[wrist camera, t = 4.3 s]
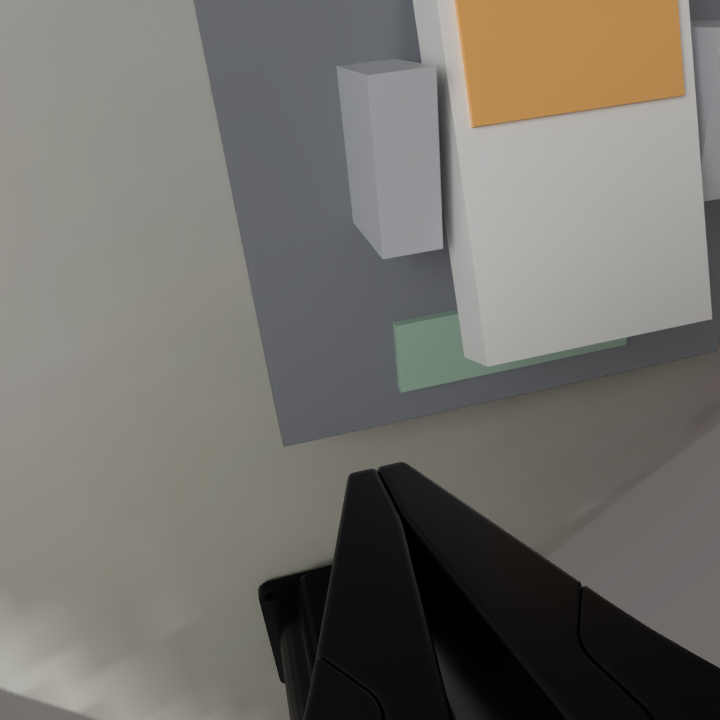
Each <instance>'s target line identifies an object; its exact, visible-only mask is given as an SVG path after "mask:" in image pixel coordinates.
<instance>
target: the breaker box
mask: <svg viewBox="0 0 720 720" xmlns="http://www.w3.org/2000/svg"><path fill="white" fill-rule="evenodd" d="M194 4H195V9H196V14H197V19H198V24H199V29H200V34H201V40H202V45H203V50H204V55H205V60H206V65H207V70H208V75H209V80H210V85H211V90H212V95H213V100H214V105H215V110H216V115H217V120H218V125H219V130H220V135H221V140H222V145H223V150H224V155H225V160H226V165H227V170H228V175H229V180H230V185H231V190H232V195H233V200H234V205H235V210H236V215H237V220H238V225H239V230H240V235H241V240H242V245H243V250H244V255H245V260H246V265H247V270H248V275H249V280H250V285H251V290H252V295H253V300H254V305H255V310H256V315H257V320H258V325H259V330H260V335H261V340H262V345H263V350H264V355H265V360H266V365H267V370H268V375H269V380H270V385H271V390H272V395H273V400H274V404H275V409H276V414H277V418H278V423H279V427H280V432H281V437H282V441H283V446H284V447H285V446H290V445H294V444H299V443H304V442H308V441H313V440H317V439H322V438H326V437H331V436H335V435H340V434H344V433H349V432H353V431H358V430H362V429H367V428H371V427H376V426H380V425H385V424H389V423H394V422H398V421H403V420H407V419H412V418H416V417H421V416H426V415H430V414H435V413H439V412H444V411H448V410H453V409H457V408H462V407H466V406H471V405H475V404H480V403H484V402H489V401H493V400H498V399H502V398H507V397H511V396H516V395H520V394H525V393H529V392H534V391H539V390H543V389H548V388H552V387H557V386H561V385H566V384H570V383H575V382H579V381H584V380H588V379H593V378H597V377H602V376H606V375H611V374H615V373H620V372H624V371H629V370H633V369H638V368H642V367H647V366H652V365H656V364H661V363H665V362H670V361H674V360H679V359H683V358H688V357H692V356H697V355H701V354H706V353H710V352H715V351H717V347H718V342H719V337H720V0H689V11H690V24H691V38H692V51H693V65H694V78H695V92H696V105H697V119H698V132H699V146H700V160H701V173H702V187H703V200H704V214H705V227H706V241H707V254H708V268H709V281H710V295H711V308H712V319H710V320H706V321H701V322H696V323H692V324H687V325H682V326H677V327H673V328H668V329H663V330H659V331H654V332H649V333H644V334H640V335H635V336H630V337H626V338H621V339H616V340H611V341H607V342H602V343H597V344H593V345H588V346H583V347H578V348H574V349H569V350H564V351H560V352H555V353H550V354H546V355H541V356H536V357H531V358H527V359H522V360H517V361H513V362H508V363H503V364H498V365H494V366H489V367H487V366H485V365H482V364H480V363H477V362H475V361H472V360H470V359H467V358H465V357H464V350H463V343H462V336H461V329H460V323H459V316H458V309H457V302H456V295H455V288H454V281H453V275H452V268H451V261H450V254H449V247H448V240H447V233H446V226H445V220H444V213H443V206H442V199H441V178H440V151H439V125H438V98H437V71H436V66H434V65H428V64H422V62H421V55H420V48H419V41H418V34H417V27H416V21H415V14H414V7H413V0H194Z"/></svg>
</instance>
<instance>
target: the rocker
mask: <svg viewBox="0 0 720 720" xmlns="http://www.w3.org/2000/svg"><path fill="white" fill-rule="evenodd" d="M413 7H414V14H415V21H416V27H417V34H418V41H419V48H420V55H421V62H422V64H428V65H434V66H436V71H437V98H438V125H439V151H440V178H441V199H442V206H443V213H444V220H445V226H446V233H447V240H448V247H449V254H450V261H451V268H452V275H453V281H454V288H455V295H456V302H457V309H458V316H459V323H460V329H461V336H462V343H463V350H464V357H465V358H467V359H470V360H472V361H475V362H477V363H480V364H482V365H485V366H487V367H489V366H494V365H498V364H503V363H508V362H513V361H517V360H522V359H527V358H531V357H536V356H541V355H546V354H550V353H555V352H560V351H564V350H569V349H574V348H578V347H583V346H588V345H593V344H597V343H602V342H607V341H611V340H616V339H621V338H626V337H630V336H635V335H640V334H644V333H649V332H654V331H659V330H663V329H668V328H673V327H677V326H682V325H687V324H692V323H696V322H701V321H706V320H710V319H712V308H711V295H710V281H709V268H708V254H707V241H706V227H705V214H704V200H703V187H702V173H701V160H700V146H699V132H698V119H697V105H696V92H695V78H694V65H693V51H692V38H691V24H690V11H689V0H413Z"/></svg>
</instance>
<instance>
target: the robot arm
mask: <svg viewBox="0 0 720 720" xmlns="http://www.w3.org/2000/svg"><path fill="white" fill-rule="evenodd" d="M581 588H582V589H581ZM271 592H273V593H271ZM268 593H271V594H268ZM258 595H259V601H260V605H261V609H262V613H263V617H264V620H265V624H266V628H267V632H268V636H269V640H270V643H271V647H272V651H273V655H274V659H275V662H276V666H277V670H278V674H279V678H280V681H281V682H282V683H284V684H285V686H286V693H287V700H288V707H289V715H290V720H720V668H718V667H717V666H715V665H713V664H711V663H709V662H708V661H706V660H704V659H702V658H700V657H699V656H697V655H695V654H693V653H691V652H690V651H688V650H686V649H685V648H683V647H681V646H680V645H678V644H676V643H675V642H673V641H671V640H669V639H668V638H666V637H664V636H663V635H661V634H659V633H657V632H656V631H654V630H652V629H651V628H649V627H647V626H646V625H644V624H642V623H641V622H640V621H638V620H636V619H635V618H633V617H632V616H630V615H629V614H627V613H626V612H624V611H623V610H621V609H619V608H618V607H616V606H615V605H613V604H612V603H610V602H609V601H607V600H606V599H604V598H603V597H601V596H600V595H598V594H597V593H595V592H594V591H593V590H591V589H590V588H588V587H587V586H584V587H582V585H581V583H580V582H579V581H577V580H576V579H575V578H573V577H572V576H570V575H569V574H567V573H566V572H564V571H563V570H562V569H560V568H559V567H557V566H556V565H554V564H553V563H551V562H550V561H548V560H547V559H545V558H544V557H543V556H541V555H540V554H538V553H537V552H535V551H534V550H532V549H531V548H529V547H528V546H526V545H525V544H524V543H522V542H521V541H519V540H518V539H516V538H515V537H513V536H512V535H510V534H509V533H507V532H506V531H505V530H503V529H502V528H500V527H499V526H497V525H496V524H494V523H493V522H491V521H490V520H488V519H487V518H486V517H484V516H483V515H481V514H480V513H478V512H477V511H475V510H474V509H472V508H471V507H469V506H468V505H467V504H465V503H464V502H462V501H461V500H459V499H458V498H456V497H455V496H453V495H452V494H450V493H449V492H448V491H446V490H445V489H443V488H442V487H440V486H439V485H437V484H436V483H434V482H433V481H431V480H430V479H429V478H427V477H426V476H424V475H423V474H421V473H420V472H418V471H417V470H415V469H414V468H412V467H411V466H410V465H408V464H406V463H404V462H399V463H394V464H390V465H386V466H381V467H379V468H378V470H377V471H376V470H375V469H368V470H364V471H359V472H355V473H351V474H350V475H349V477H348V480H347V486H346V492H345V497H344V503H343V508H342V514H341V520H340V525H339V531H338V536H337V542H336V548H335V553H334V559H333V564H332V565H331V566H327V567H323V568H319V569H315V570H311V571H307V572H303V573H299V574H295V575H292V576H288V577H284V578H280V579H276V580H272V581H268V582H265V583H263V584H262V585H261V586H260V587H259V589H258Z"/></svg>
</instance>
